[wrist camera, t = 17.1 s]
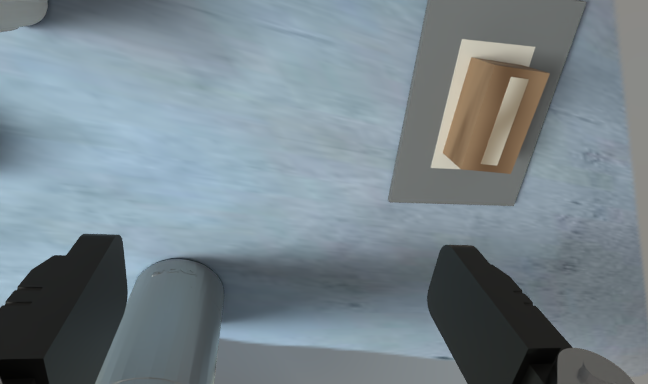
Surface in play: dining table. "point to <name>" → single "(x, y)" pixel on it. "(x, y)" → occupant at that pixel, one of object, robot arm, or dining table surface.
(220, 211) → the dining table surface
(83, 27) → the dining table surface
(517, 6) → the mat
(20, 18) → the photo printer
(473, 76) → the card box
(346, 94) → the dining table surface
